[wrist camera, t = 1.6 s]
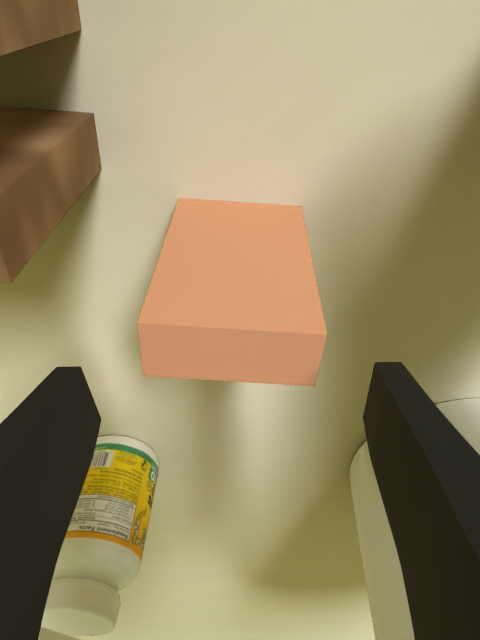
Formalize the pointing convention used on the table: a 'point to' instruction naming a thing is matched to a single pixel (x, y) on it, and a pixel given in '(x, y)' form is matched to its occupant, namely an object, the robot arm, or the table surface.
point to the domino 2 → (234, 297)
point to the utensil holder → (376, 537)
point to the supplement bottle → (103, 538)
